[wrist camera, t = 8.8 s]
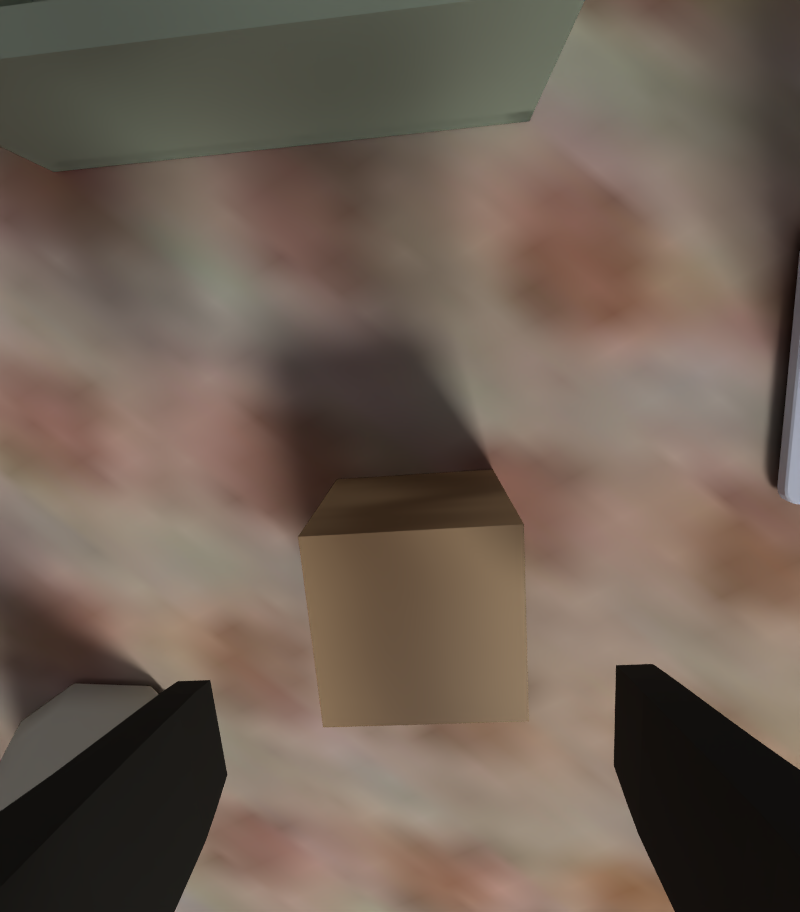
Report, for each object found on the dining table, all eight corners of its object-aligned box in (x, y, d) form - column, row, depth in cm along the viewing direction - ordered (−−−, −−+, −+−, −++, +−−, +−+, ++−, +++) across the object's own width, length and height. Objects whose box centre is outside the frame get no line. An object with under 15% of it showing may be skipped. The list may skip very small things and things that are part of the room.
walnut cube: (492, 468, 15) (523, 524, 10) (497, 610, 16) (529, 721, 12) (337, 478, 16) (298, 536, 11) (352, 617, 17) (323, 727, 12)
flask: (-5, 701, 18) (-501, 1111, 8) (167, 653, 17) (-160, 1044, 8) (80, 850, 20) (-261, 1348, 10) (242, 811, 19) (47, 1313, 9)
